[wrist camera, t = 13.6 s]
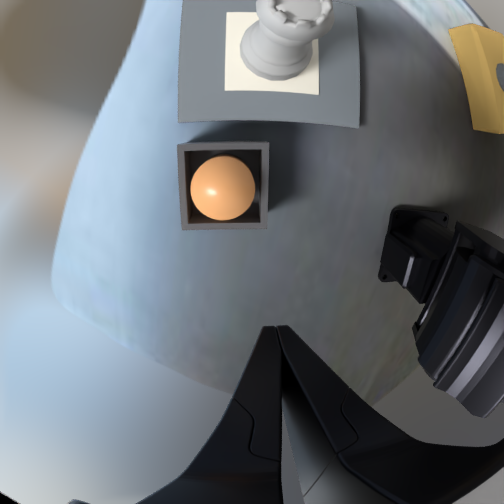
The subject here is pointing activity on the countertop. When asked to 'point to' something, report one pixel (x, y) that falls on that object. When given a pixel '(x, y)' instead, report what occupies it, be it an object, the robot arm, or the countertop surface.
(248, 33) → the rook chess piece
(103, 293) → the countertop surface
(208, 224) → the button housing
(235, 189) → the button
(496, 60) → the rubber stamp
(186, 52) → the slate board
